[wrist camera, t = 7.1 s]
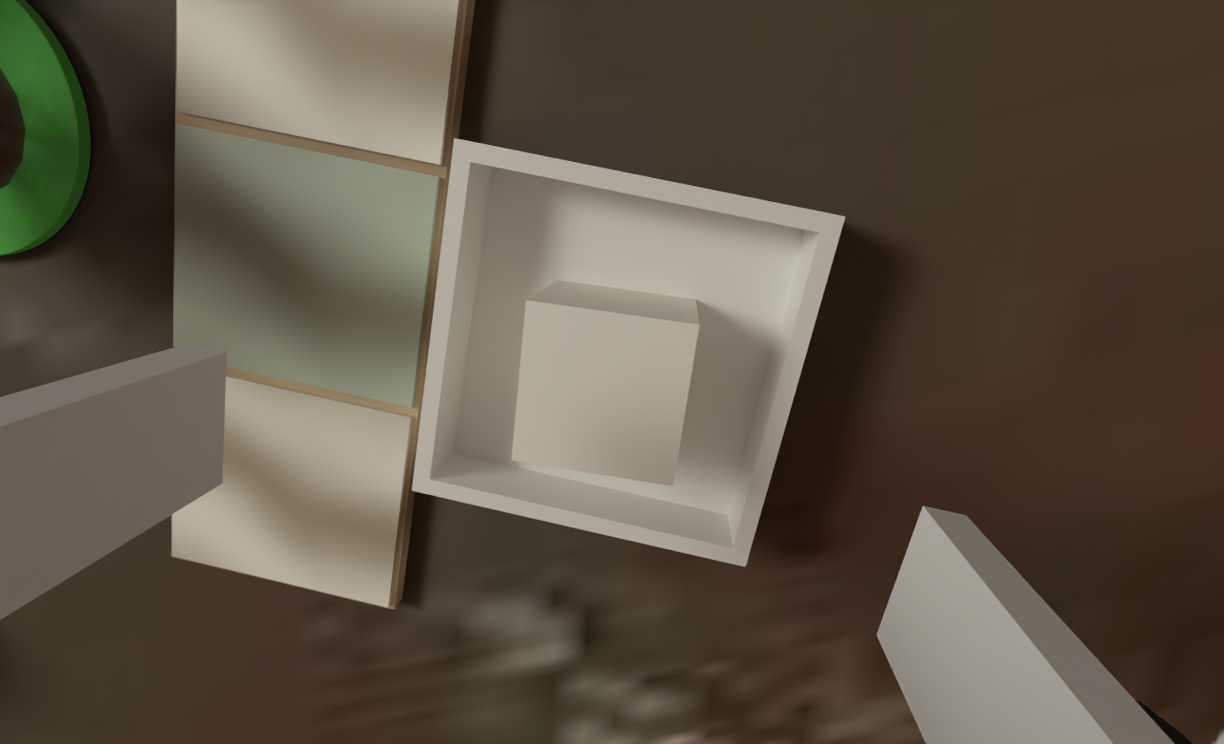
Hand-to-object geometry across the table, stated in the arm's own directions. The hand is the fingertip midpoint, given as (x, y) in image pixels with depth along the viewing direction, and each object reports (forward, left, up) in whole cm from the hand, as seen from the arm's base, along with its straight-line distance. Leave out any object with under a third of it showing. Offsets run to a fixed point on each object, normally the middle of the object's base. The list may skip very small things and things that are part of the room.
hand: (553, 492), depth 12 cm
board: (0, -12, -13) cm, 17 cm away
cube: (0, 0, -12) cm, 12 cm away
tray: (0, 0, -13) cm, 13 cm away
